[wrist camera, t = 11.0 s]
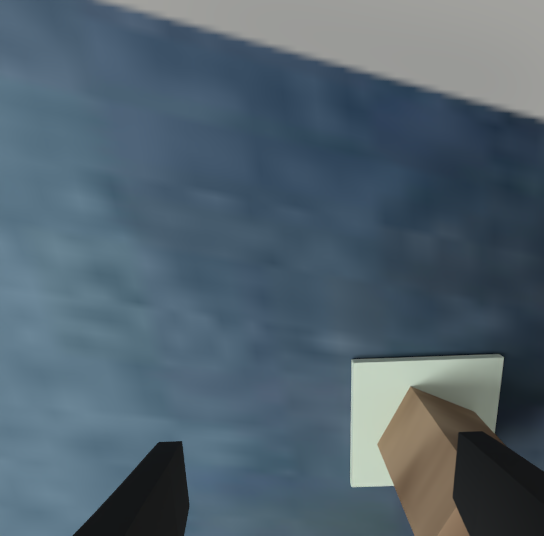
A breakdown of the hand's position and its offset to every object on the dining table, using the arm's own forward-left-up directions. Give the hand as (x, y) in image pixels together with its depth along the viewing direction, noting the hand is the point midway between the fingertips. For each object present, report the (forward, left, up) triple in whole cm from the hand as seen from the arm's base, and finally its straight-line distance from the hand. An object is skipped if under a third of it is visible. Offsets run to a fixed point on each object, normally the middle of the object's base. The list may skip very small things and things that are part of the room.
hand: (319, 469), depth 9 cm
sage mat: (-7, +6, -9) cm, 13 cm away
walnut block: (-7, +6, -9) cm, 13 cm away
